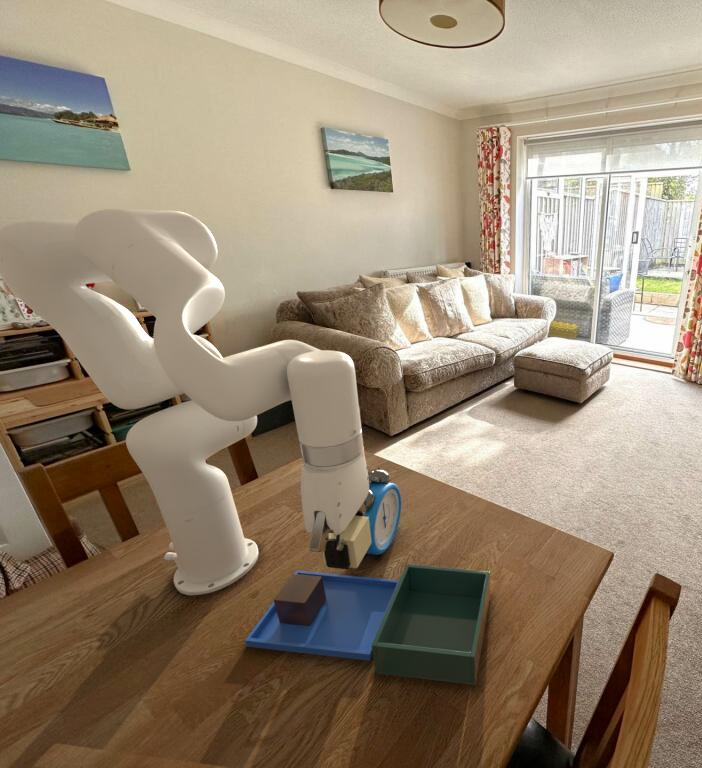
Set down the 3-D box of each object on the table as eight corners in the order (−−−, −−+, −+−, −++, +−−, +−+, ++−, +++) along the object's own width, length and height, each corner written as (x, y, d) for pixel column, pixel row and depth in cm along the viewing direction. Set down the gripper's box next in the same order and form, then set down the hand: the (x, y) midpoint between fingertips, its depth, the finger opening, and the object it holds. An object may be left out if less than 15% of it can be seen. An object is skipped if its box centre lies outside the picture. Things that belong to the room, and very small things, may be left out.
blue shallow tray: (247, 648, 60) (244, 640, 59) (298, 577, 72) (296, 570, 71) (370, 662, 58) (369, 654, 58) (401, 587, 70) (401, 580, 70)
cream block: (323, 564, 58) (318, 537, 56) (340, 539, 62) (336, 513, 60) (357, 568, 57) (353, 541, 55) (371, 542, 62) (368, 516, 60)
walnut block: (279, 623, 63) (273, 599, 61) (298, 595, 68) (292, 573, 66) (309, 626, 63) (304, 603, 61) (326, 598, 67) (322, 576, 66)
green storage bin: (375, 675, 57) (371, 645, 54) (408, 590, 70) (406, 563, 68) (475, 686, 56) (474, 657, 53) (489, 598, 69) (490, 571, 67)
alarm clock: (376, 571, 73) (367, 504, 68) (344, 567, 74) (333, 500, 69) (404, 522, 85) (398, 462, 80) (377, 519, 86) (369, 459, 81)
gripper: (337, 414, 61) (350, 511, 68) (262, 481, 45) (289, 598, 52) (385, 418, 60) (393, 515, 67) (326, 487, 45) (345, 604, 52)
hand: (348, 550), depth 60 cm, fingers closed on cream block, 5 cm apart
